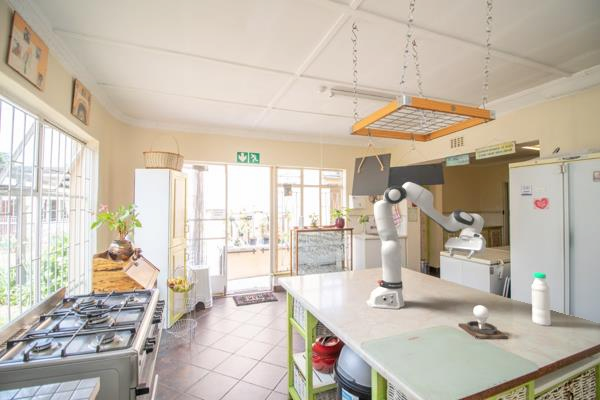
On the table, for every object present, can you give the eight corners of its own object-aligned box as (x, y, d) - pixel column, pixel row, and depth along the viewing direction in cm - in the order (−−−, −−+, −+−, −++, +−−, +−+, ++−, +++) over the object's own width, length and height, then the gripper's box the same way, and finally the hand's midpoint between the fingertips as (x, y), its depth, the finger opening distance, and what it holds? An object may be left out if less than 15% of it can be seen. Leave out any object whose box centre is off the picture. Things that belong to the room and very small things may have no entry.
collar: (477, 334, 125) (476, 331, 125) (462, 324, 136) (462, 321, 136) (503, 334, 125) (503, 331, 125) (486, 324, 136) (486, 321, 136)
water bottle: (546, 327, 135) (544, 275, 136) (529, 322, 142) (527, 272, 143) (553, 324, 138) (551, 273, 140) (536, 319, 145) (534, 271, 146)
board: (476, 338, 124) (475, 336, 124) (458, 325, 138) (458, 323, 138) (507, 338, 123) (507, 336, 123) (487, 325, 137) (487, 323, 137)
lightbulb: (490, 333, 126) (489, 308, 126) (473, 330, 129) (472, 306, 130) (489, 328, 131) (488, 304, 132) (473, 325, 135) (473, 302, 135)
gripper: (447, 233, 167) (438, 251, 161) (485, 235, 149) (476, 255, 144) (452, 240, 169) (443, 258, 163) (489, 243, 152) (481, 263, 146)
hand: (459, 256), depth 153 cm, fingers open, 8 cm apart
